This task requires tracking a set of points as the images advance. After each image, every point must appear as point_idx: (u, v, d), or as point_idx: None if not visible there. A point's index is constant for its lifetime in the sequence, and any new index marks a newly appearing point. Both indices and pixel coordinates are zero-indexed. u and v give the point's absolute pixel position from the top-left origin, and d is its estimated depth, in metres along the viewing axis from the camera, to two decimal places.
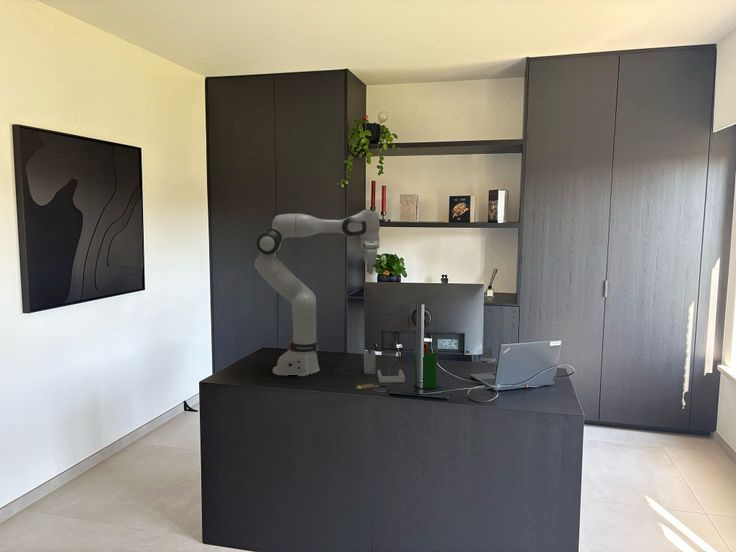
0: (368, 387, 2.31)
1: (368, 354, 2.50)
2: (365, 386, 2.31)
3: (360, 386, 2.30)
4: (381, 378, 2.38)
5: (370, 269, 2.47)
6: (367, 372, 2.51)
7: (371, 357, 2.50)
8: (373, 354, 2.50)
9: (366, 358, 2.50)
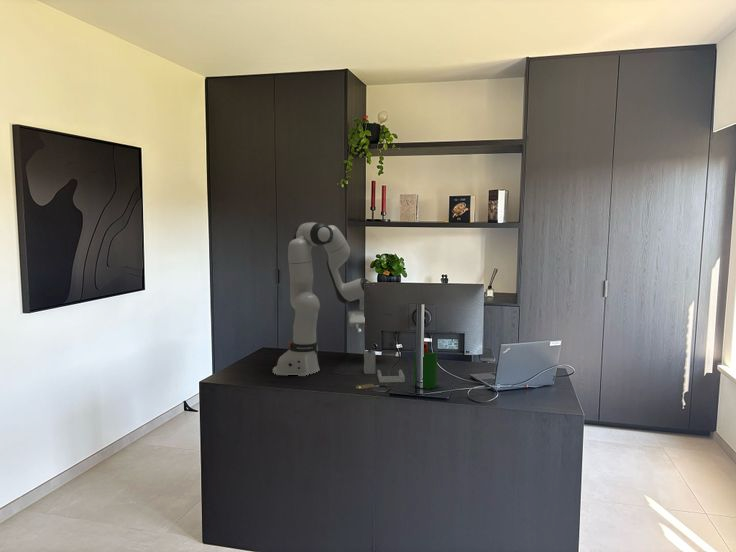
0: (368, 387, 2.31)
1: (368, 354, 2.50)
2: (365, 386, 2.31)
3: (360, 386, 2.30)
4: (381, 378, 2.38)
5: None
6: (367, 372, 2.51)
7: (371, 357, 2.50)
8: (373, 354, 2.50)
9: (366, 358, 2.50)
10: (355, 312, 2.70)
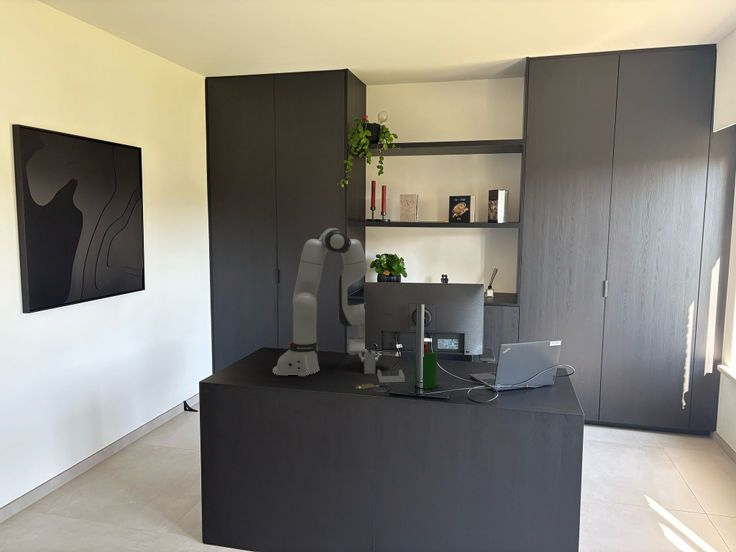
0: (368, 387, 2.31)
1: (368, 354, 2.50)
2: (365, 386, 2.31)
3: (360, 386, 2.30)
4: (381, 378, 2.38)
5: (378, 357, 2.55)
6: (367, 372, 2.51)
7: (371, 357, 2.50)
8: (373, 354, 2.50)
9: (366, 358, 2.50)
10: (355, 339, 2.58)
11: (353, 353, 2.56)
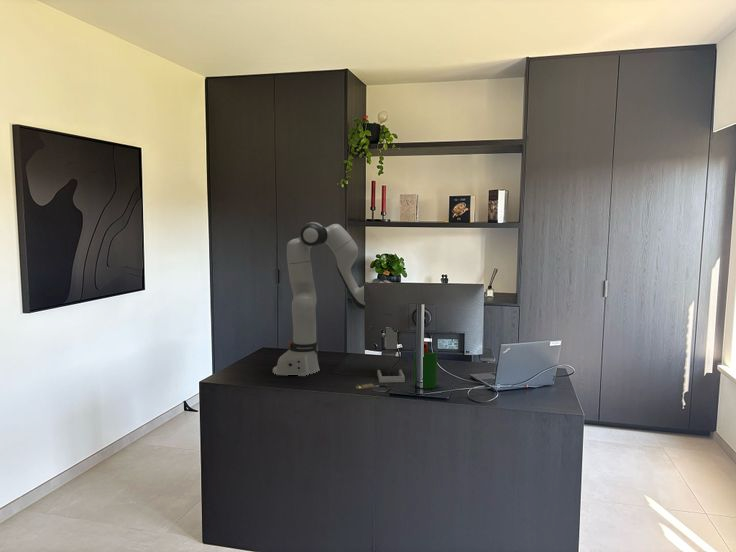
0: (368, 387, 2.31)
1: (389, 328, 2.40)
2: (365, 386, 2.31)
3: (360, 386, 2.30)
4: (381, 378, 2.38)
5: None
6: (388, 347, 2.41)
7: (393, 331, 2.40)
8: None
9: (387, 332, 2.40)
10: None
11: None
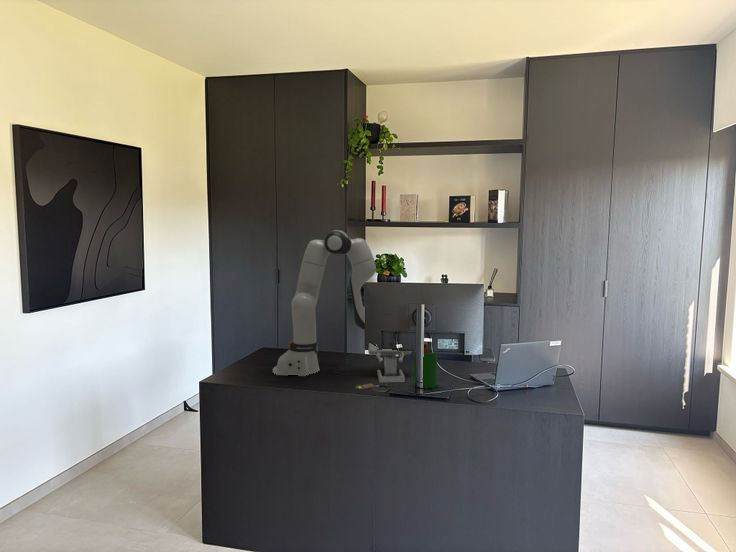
0: (368, 387, 2.31)
1: (389, 359, 2.41)
2: (365, 386, 2.31)
3: (360, 386, 2.30)
4: (381, 378, 2.38)
5: (402, 357, 2.45)
6: None
7: (392, 363, 2.41)
8: (394, 359, 2.41)
9: (387, 364, 2.41)
10: None
11: (373, 353, 2.46)
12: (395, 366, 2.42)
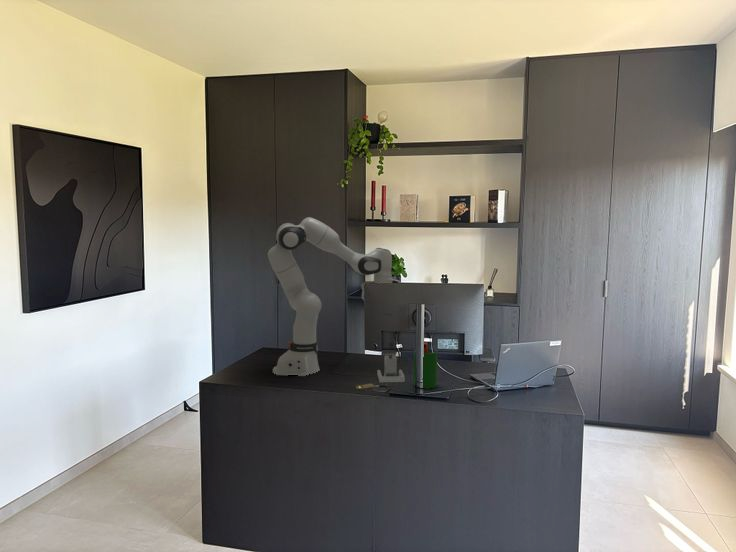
0: (368, 387, 2.31)
1: (389, 359, 2.41)
2: (365, 386, 2.31)
3: (360, 386, 2.30)
4: (381, 378, 2.38)
5: None
6: None
7: (392, 363, 2.41)
8: (394, 359, 2.41)
9: (387, 364, 2.41)
10: None
11: None
12: (395, 366, 2.42)
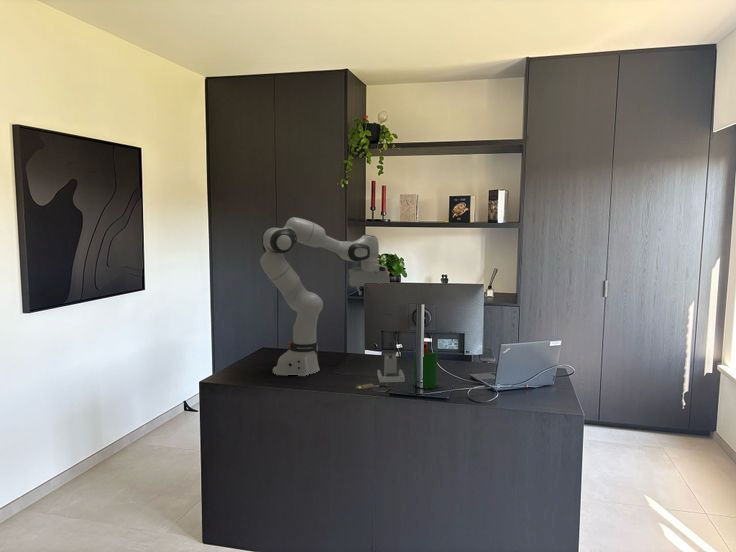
0: (368, 387, 2.31)
1: (389, 359, 2.41)
2: (365, 386, 2.31)
3: (360, 386, 2.30)
4: (381, 378, 2.38)
5: None
6: None
7: (392, 363, 2.41)
8: (394, 359, 2.41)
9: (387, 364, 2.41)
10: (356, 273, 2.63)
11: None
12: (395, 366, 2.42)
